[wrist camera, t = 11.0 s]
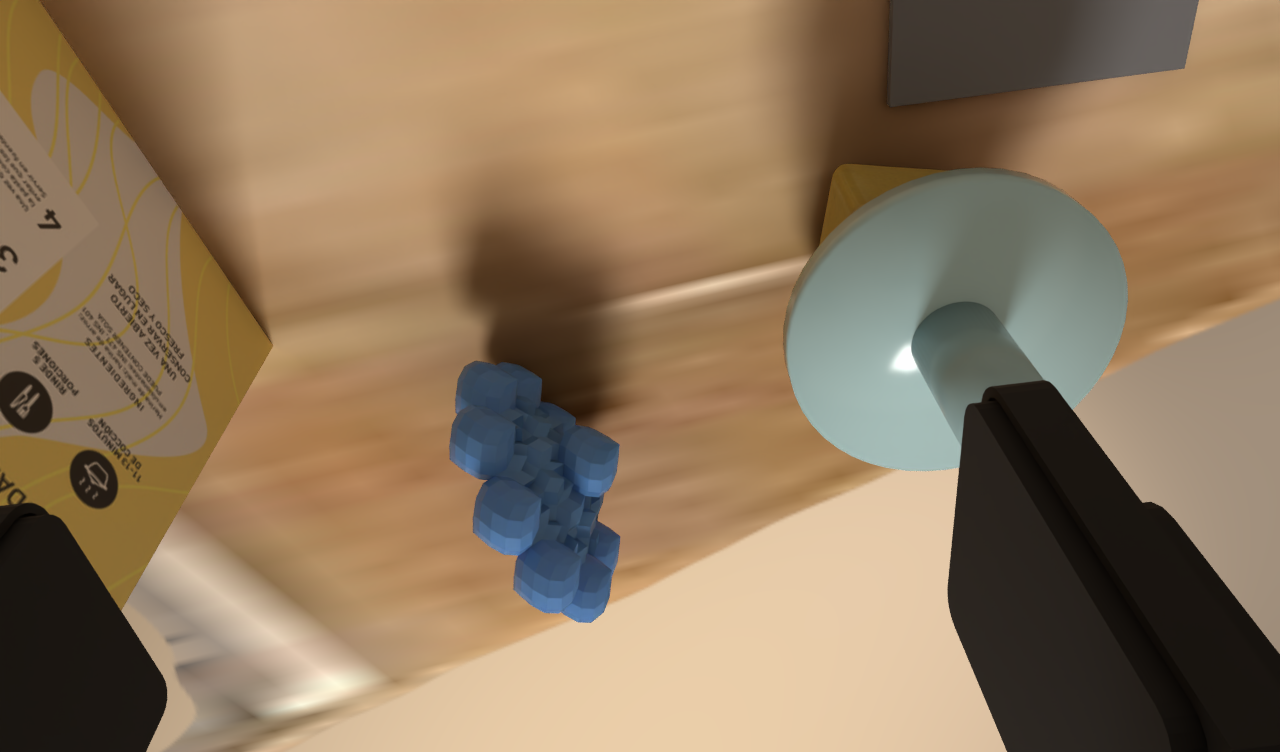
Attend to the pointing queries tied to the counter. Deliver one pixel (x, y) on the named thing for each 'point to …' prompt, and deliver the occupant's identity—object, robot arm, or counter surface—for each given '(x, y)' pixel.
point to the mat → (1028, 44)
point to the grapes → (537, 488)
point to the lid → (949, 311)
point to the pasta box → (102, 315)
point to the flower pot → (862, 189)
